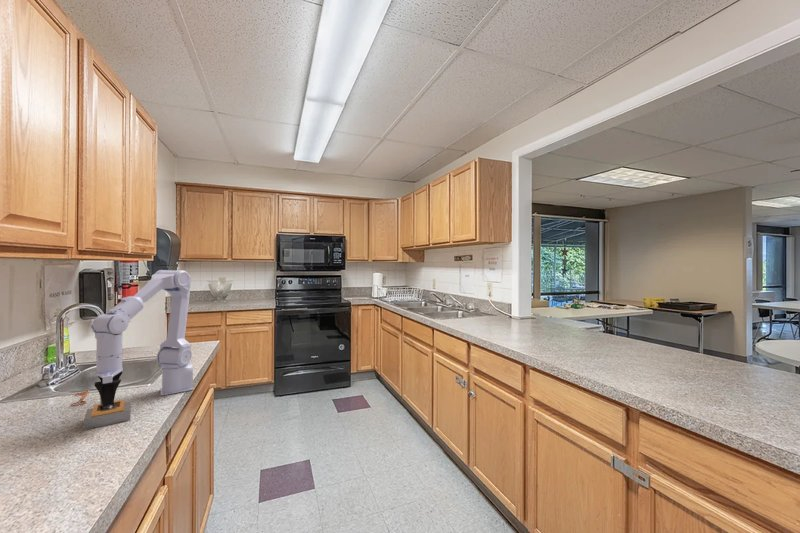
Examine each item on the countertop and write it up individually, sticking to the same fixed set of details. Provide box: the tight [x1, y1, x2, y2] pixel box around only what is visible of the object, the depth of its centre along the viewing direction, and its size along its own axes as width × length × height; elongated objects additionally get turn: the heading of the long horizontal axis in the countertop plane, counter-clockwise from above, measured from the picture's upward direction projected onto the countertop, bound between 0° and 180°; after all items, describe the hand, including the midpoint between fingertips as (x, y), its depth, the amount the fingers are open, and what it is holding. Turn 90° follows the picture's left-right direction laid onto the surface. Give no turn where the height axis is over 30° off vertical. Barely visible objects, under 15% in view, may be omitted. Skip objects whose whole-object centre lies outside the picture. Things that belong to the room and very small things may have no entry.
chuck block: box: [83, 399, 132, 431], centre depth 97 cm, size 10×8×4 cm
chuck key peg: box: [99, 396, 114, 411], centre depth 97 cm, size 3×3×6 cm
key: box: [69, 389, 90, 407], centre depth 112 cm, size 6×1×15 cm
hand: (109, 400), depth 97 cm, fingers open, 7 cm apart
